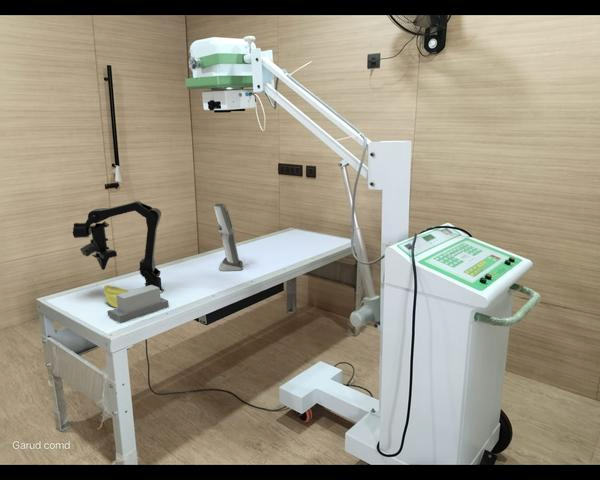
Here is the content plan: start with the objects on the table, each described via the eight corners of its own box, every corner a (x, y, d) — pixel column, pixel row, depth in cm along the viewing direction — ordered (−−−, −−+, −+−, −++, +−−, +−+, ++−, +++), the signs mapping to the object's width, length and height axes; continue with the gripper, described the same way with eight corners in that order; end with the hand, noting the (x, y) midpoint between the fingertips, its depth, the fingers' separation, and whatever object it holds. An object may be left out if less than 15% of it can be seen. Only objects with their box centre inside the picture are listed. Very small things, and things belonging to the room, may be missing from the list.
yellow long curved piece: (149, 297, 211) (133, 294, 202) (145, 313, 210) (127, 311, 202) (119, 287, 221) (102, 284, 212) (115, 303, 220) (97, 300, 211)
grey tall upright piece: (219, 265, 264) (215, 202, 256) (243, 264, 265) (239, 202, 257) (218, 271, 253) (213, 206, 245) (242, 270, 254) (238, 205, 246)
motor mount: (154, 300, 213) (151, 280, 211) (168, 307, 205) (166, 286, 203) (106, 315, 198) (103, 294, 196) (120, 323, 190) (117, 301, 188)
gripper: (72, 237, 218) (76, 270, 221) (91, 243, 205) (95, 277, 209) (96, 232, 226) (100, 264, 229) (115, 238, 213) (119, 271, 217)
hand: (103, 269), depth 221 cm, fingers closed
